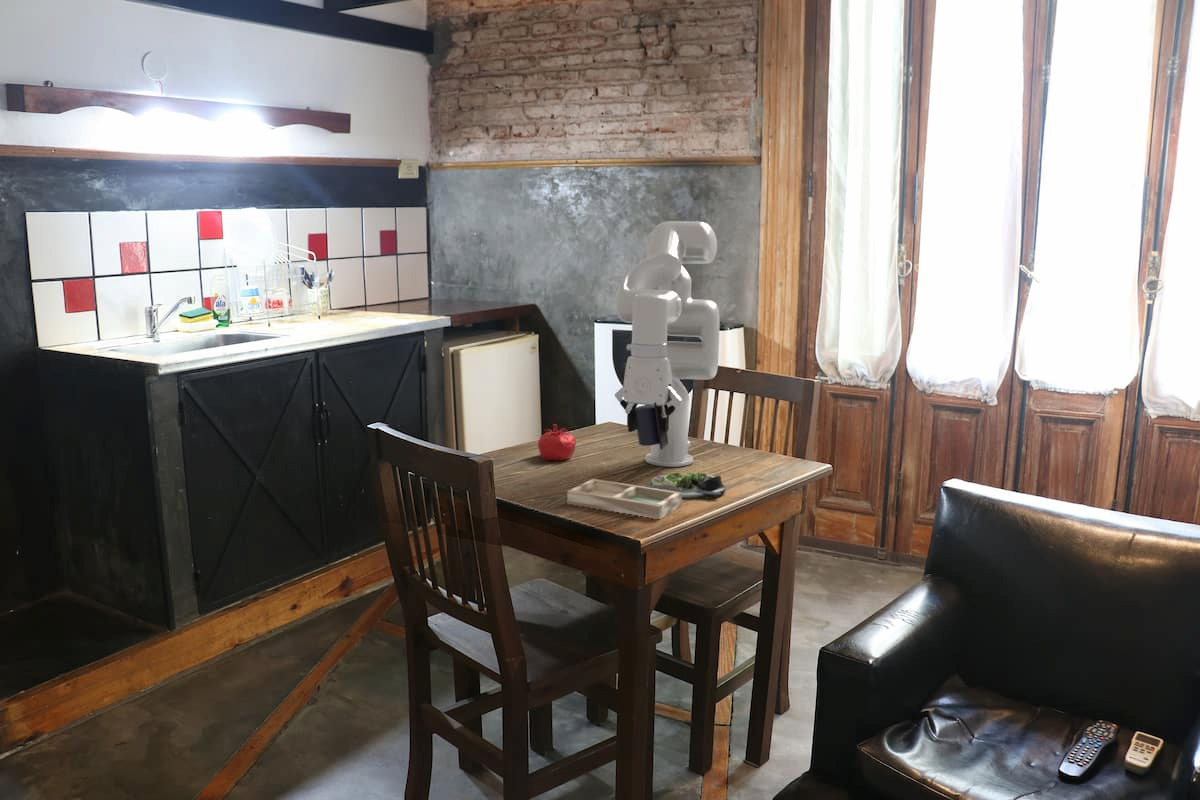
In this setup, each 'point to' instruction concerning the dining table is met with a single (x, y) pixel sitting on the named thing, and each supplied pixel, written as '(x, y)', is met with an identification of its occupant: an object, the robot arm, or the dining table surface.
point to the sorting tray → (625, 498)
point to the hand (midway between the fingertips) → (647, 431)
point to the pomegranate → (556, 445)
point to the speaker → (649, 426)
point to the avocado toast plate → (690, 484)
